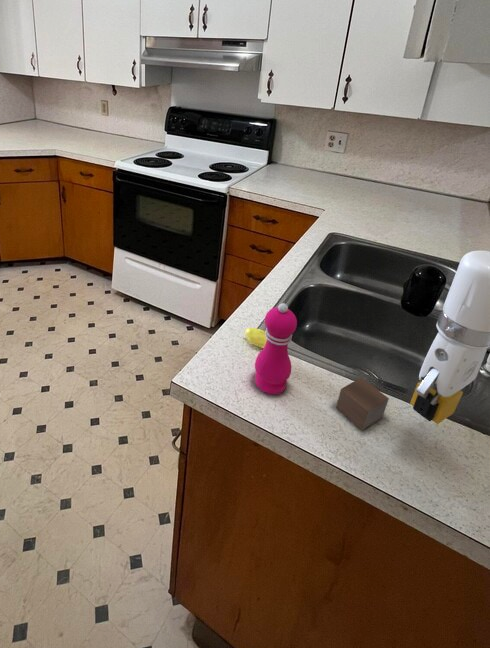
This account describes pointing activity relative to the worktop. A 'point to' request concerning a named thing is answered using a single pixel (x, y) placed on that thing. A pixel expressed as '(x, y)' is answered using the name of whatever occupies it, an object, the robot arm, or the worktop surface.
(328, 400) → the worktop surface
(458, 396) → the mustard block
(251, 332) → the lemon
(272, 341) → the pepper mill
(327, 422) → the worktop surface
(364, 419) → the walnut block
